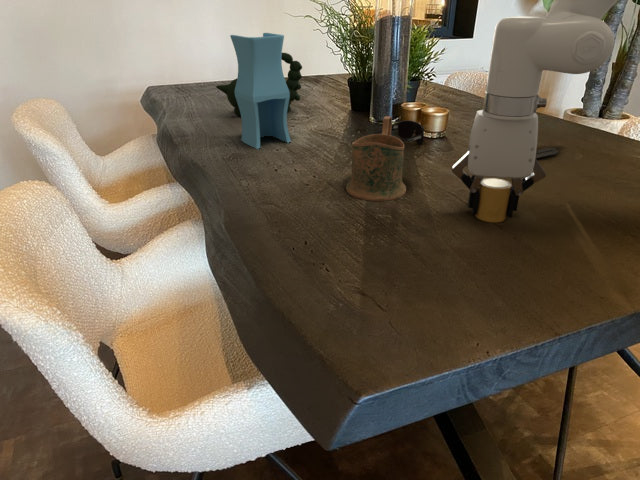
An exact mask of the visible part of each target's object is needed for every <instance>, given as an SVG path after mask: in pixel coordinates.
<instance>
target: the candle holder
mask: <svg viewBox="0 0 640 480" xmlns="http://www.w3.org/2000/svg"><path fill="white" fill-rule="evenodd" d="M511 187H512V182H510V181H508V180H505V179H503V178H497V177H486V178H483V180H482V182H481V184H480V186H479V193H480V197H479V203H478V210H477V214H476V215H474V216H475V217H476V218H477V219H478V220H480V221H483V222H487V223H501V222H504V221H505V220H506V218H507V214H506V213H507V208H508V203H509V197H510V192H511Z"/></svg>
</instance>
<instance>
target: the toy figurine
mask: <svg viewBox="0 0 640 480" xmlns="http://www.w3.org/2000/svg"><path fill="white" fill-rule="evenodd" d="M281 60H282V61H283V62H285V63H286V64H288V65H289V70H288V72H287V79H286V80H285V81H286V84H287V87H288V89H289V92H290V99H289V104H288V109H287V113H290V112H291V111H292V107H291V104H292V102H294V101H297V102H299V101H300V100H301V96H300V94H299V93H298V91H299V90H301V89H302V85H301V83H300V80H301V79H302V78H303V76H302V73H301V70H303V66H302V64H301V63H300V61H298V60H294V58H293V56H292V55H291V54H290V53H287V52H282V58H281ZM236 83H237V78H234V79H233V80H231V81H230V83H228V84H219V85H216V86H215V88H217V89H218V90H219V91H221V92H222V93H223V94H225V95H226V98H227V101H228V103H229V104H230V105H231V106H232V107H233V113H234V115H235V116H237V117H241V113H240V110H239V106H238V103H237V100H236V97H235V87H236Z"/></svg>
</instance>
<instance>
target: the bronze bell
mask: <svg viewBox="0 0 640 480" xmlns="http://www.w3.org/2000/svg"><path fill="white" fill-rule="evenodd" d="M392 126H393V118H392V116H391V115H385V116H384V117H383V118H382V129H381V130H382V132H381V133H377V134H374V133H372V134H368V135H364V136H362V137H359V138H358V139H356V140H354V141H353V142H352V144H351V145H352V147H351V149H352V151H351V177H350V181H348V182H347V184H346V188H345V189H346V190H345V191H346V192H347V193H348V194H349V195H351V196H352V197H354V198H357V199H360V200H363V201H368V202H369V201H370V202H386V201H393V200H396V199H399V198H401V197H403V196H404V195H406V193H407V187H406V184H404V182H403V167H404V160H405V159H404V157H405V143H404V142H402V141H401V140H402V139H400V138H399V137H397V136H394V135H392V131H391V127H392Z"/></svg>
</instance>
